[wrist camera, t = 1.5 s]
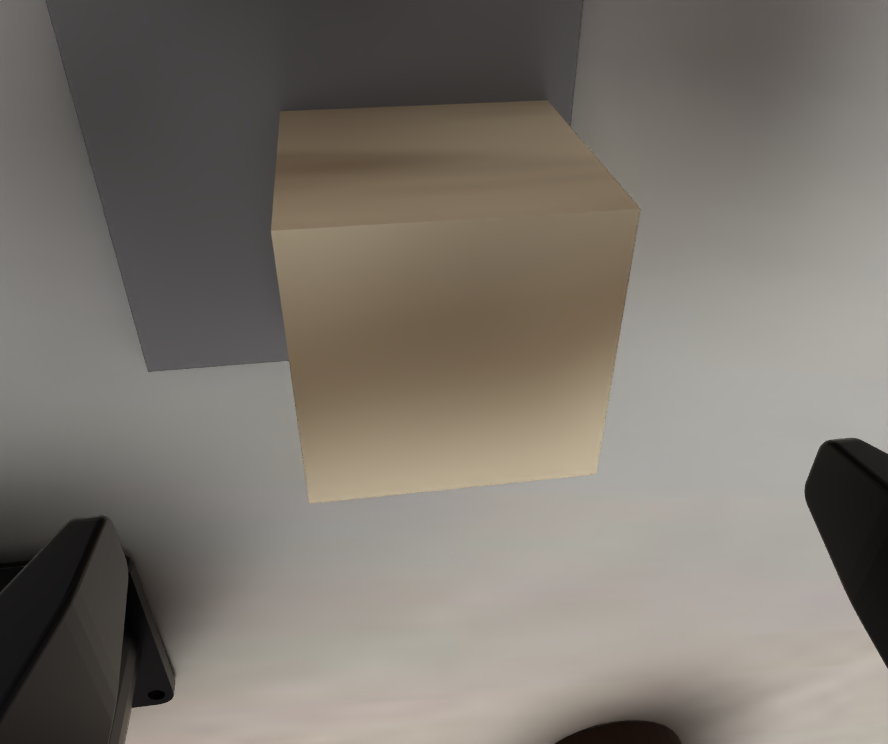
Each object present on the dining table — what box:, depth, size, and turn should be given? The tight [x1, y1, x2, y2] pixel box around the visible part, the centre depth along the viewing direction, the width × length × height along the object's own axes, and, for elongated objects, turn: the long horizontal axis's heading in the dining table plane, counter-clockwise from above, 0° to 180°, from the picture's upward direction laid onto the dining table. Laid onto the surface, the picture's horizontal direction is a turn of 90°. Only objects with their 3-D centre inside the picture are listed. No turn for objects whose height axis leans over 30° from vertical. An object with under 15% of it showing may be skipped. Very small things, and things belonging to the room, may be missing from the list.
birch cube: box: [271, 100, 640, 504], centre depth 14 cm, size 5×5×5 cm
